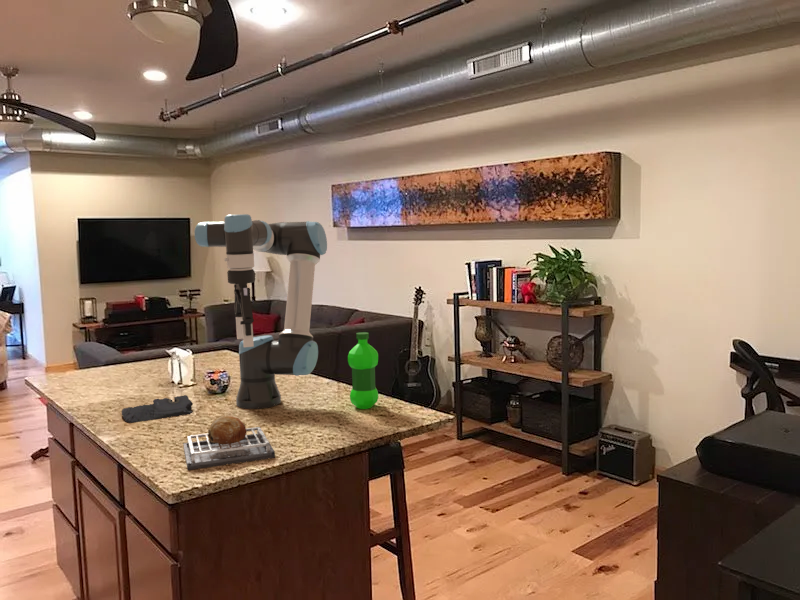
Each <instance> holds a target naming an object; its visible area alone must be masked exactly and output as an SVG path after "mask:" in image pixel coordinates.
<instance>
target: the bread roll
mask: <svg viewBox="0 0 800 600" xmlns="http://www.w3.org/2000/svg"><path fill="white" fill-rule="evenodd" d="M246 429H247V428H246V425H245V423H243V422H242V420H240V418H237V417H235V416H232V415H226V416H220V417H218V418H216V419H214V420H213V421H212V422H211V423H210V426H209V427H208V432H207V433H208V441H209V442H212V443H218V444H221V445H224V444H232V443H236V442H239V441H241V440H243V439H244V438H245V436H246V435H247V432H248V431H246Z"/></svg>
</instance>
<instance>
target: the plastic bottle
mask: <svg viewBox="0 0 800 600" xmlns="http://www.w3.org/2000/svg"><path fill="white" fill-rule="evenodd" d="M355 334H356V337H355V338H356V340H357V343H356V345H354V346H353V347H352V348H351V350H349V352H348V355H347V363H348V366H349V367H350V368H351V378H352V381H351V382H352V388H351V391H350V394H349V400H350V402H351V404H352V405H353V406H355V407H356V408H357V409H360V410H365V409H366V410H369V409H371V408H373V407H374V406H375V405H376V403H377V402H378V401H379V392H378V389H377V388H376V366H378V364H379V363H378V362H379V353H378V350H376V349H375V348H374V347H373V345H370V343H368V340H369V339H370V336H369V334H370V333H369V332H366V331H363V332H356V333H355Z"/></svg>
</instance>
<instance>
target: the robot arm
mask: <svg viewBox="0 0 800 600" xmlns="http://www.w3.org/2000/svg"><path fill="white" fill-rule="evenodd" d="M194 241H195V242H196V244H197V245H198V246H199V247H201V248H202V247H203V248H225V251H226V252H225V254H226V257H225V258H224V259H223V260H224V262H226V267H227V269H228V270H227V273H226V274H227V283H229V284H231V285H233V288H234V289H233V293H234V311H233V312H234V314H235V330H236V339H237V340H241V341H240V342H239V344H238V358H239V378H240V385H239V388H238V390H237V395H236V400H235V401H236V402H235V404H236V406H237V407H239V408H241V409H249V410H250V409H251V410H255V409H256V410H257V409H266V408H267V409H268V408H272V407H274V406H275V407H276V406H277V405H279V404H281V402H282V397H281V392H280V390H279V388H278V386H277V382H276V379H275V378H276V376H278V375H279V376H280V375H283V376H296V377H299V376H307V375H310V374H311V373H312V372H313V371H314V369H315V367H316V365H317V362H318V358H319V346H318V343H317V342H316V341H315V340H314V336H313V334H312V333H311V332H310V327H311V316H312V315H311V314H312V304H313V292H314V291H313V290H314V281H315V270H316V265H317V264H318V263H320V260H321V256H323V255H325V254H326V253H327V251H328V240H327V234H326V231H325V228H324V227H323V225H322V224H321V223H319V222H317V221H309V220H307V221H289V222H287V221H283V222H282V221H281V222H273V223H267V222H266V221H264V220H260V219H258V220H257V219H256V220H253V219H252V216H251V215H250V214H247V213H246V214H245V213H243V214H227V215H225V216H224V221H202V222H198V223H197V224H196V225H195V227H194ZM254 251H256V252H260V253H267V254H272V255H279V256H286V259H287V260H288V262H289V272H288V273H289V275H288V286H287V294H286V306H285V315H284V316H285V317H284V326H283V327H284V328H283V330H282V331H281V332H279V333H278V339H277V340H274V339H275V338H274V337H273V335H260V336H259V335H258V336H254V330H253V328H254V327H253V323H254V321H255V320H254V315H253V306H252V299H251V288H250V287H248V284H253V283H254V282H256V278H255V277H256V276H255V272H256V271H255V270H254V267H255V255H254V254H255V253H254ZM275 375H276V376H275Z"/></svg>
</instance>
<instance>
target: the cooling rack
mask: <svg viewBox="0 0 800 600" xmlns="http://www.w3.org/2000/svg"><path fill="white" fill-rule="evenodd" d="M246 431H247V432H252V433H251V434H246V436H245V438H244V439H243V440H241V441H239V442H236V443H232V444H224V445H221V444H218V443H212V442H209V441H208V439H209V438H208V432H207V433H201V434H191V435H187V437H186V438H187V442H183V445H182V446H183V451H184V452H183V453H184V458H185V464H186V468H187V471H191V470H199V469H198V468H200V469H205V468H212V467H213V466H214V467H218V466H219V467H220V466H227V465H226V464H228V465H233V464H232V463H235V464H241V463H240V462H242V463H246V461H247V463H248V461H249V462H254V461H255V460H256V461H262V460H261V459H263V460H269V459H268V458H270V459H275V458H276V452H275V450H274V448H273V447H272V444H270V442H269V439H267V438H268V437H266V435H265V433H264V432H263V430H262V428H261V427H260V426H256V427H248V428H246ZM255 431H256V432H255ZM199 438H206V439H205V440H199ZM192 439H196V441H192ZM214 467H213V468H214Z"/></svg>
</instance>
